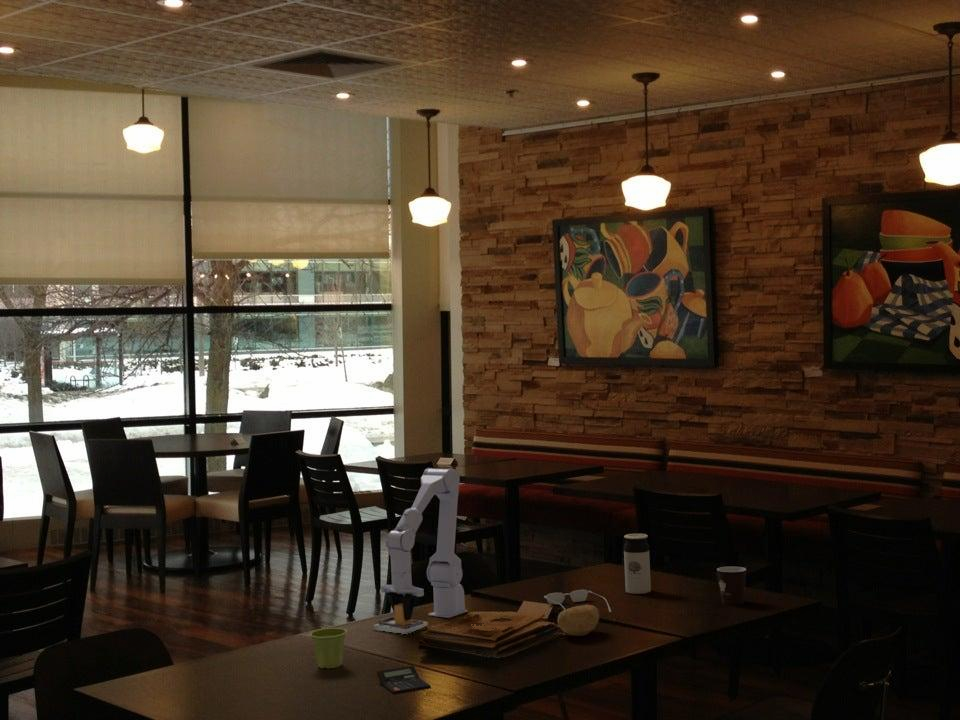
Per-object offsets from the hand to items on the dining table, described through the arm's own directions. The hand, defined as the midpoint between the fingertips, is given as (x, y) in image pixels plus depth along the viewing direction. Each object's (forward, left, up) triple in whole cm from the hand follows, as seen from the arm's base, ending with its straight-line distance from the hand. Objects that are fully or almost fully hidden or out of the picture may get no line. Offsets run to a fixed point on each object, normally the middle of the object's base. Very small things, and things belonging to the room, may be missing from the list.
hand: (403, 619), depth 338 cm
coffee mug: (-72, +69, -3) cm, 100 cm away
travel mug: (-72, +37, -3) cm, 81 cm away
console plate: (0, -1, -3) cm, 3 cm away
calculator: (+43, +36, -3) cm, 56 cm away
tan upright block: (0, 0, -1) cm, 1 cm away
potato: (-17, +49, -3) cm, 52 cm away
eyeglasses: (-44, +32, -4) cm, 55 cm away
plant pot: (+39, +8, -3) cm, 40 cm away
